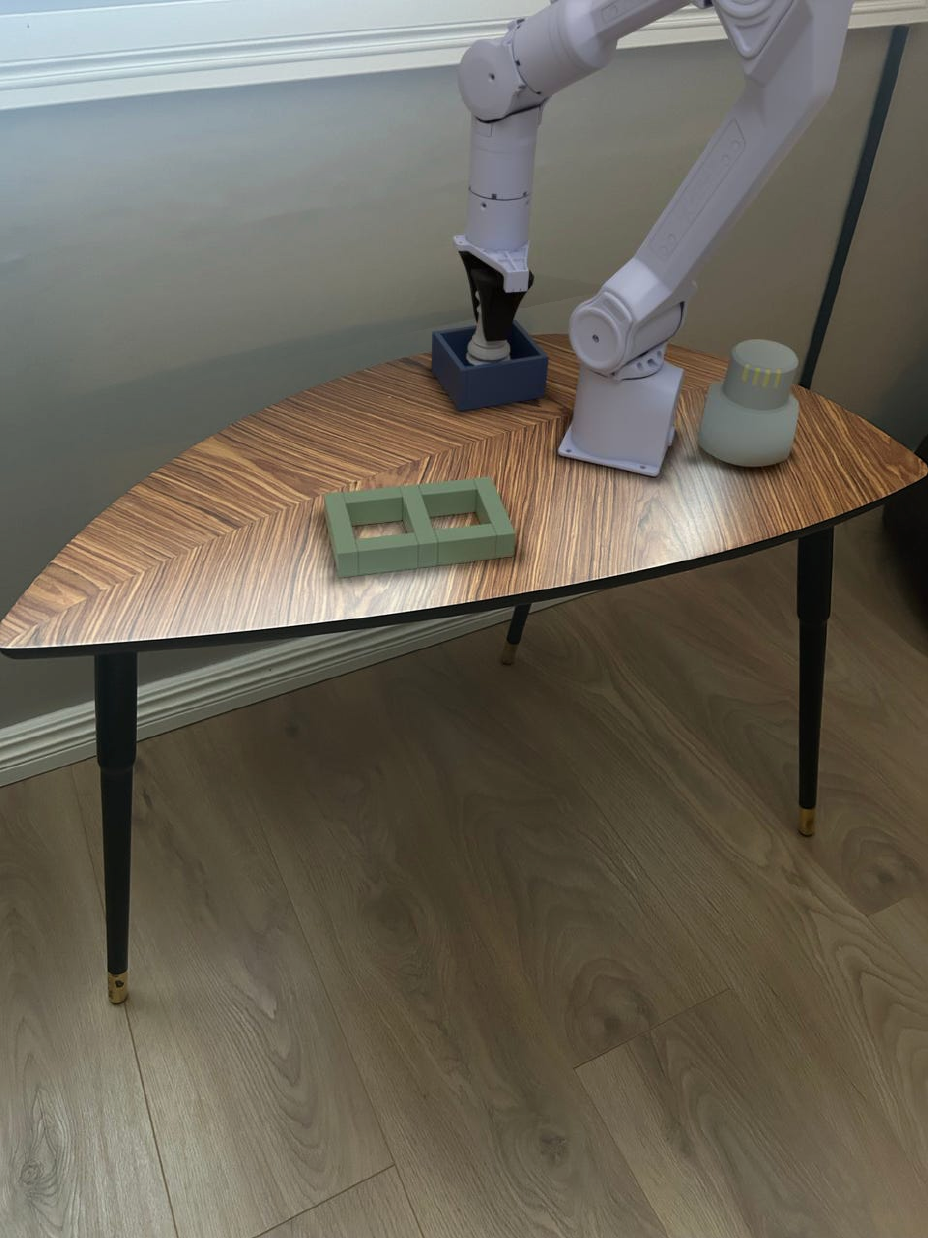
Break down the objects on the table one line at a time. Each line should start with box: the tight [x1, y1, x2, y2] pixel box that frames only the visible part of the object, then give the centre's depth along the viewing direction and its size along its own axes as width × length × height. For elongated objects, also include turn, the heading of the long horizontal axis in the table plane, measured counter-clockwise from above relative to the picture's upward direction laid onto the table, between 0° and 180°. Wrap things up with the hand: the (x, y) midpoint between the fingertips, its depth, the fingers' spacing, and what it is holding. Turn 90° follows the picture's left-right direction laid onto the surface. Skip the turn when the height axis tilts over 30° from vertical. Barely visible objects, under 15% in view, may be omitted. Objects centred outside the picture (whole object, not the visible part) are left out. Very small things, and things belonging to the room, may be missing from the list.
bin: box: [431, 319, 550, 412], centre depth 101 cm, size 9×8×4 cm
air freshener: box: [696, 338, 800, 468], centre depth 92 cm, size 11×8×10 cm
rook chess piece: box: [466, 291, 510, 366], centre depth 98 cm, size 4×4×8 cm
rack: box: [323, 476, 516, 579], centre depth 83 cm, size 14×8×2 cm, turn 104°
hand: (490, 330), depth 99 cm, fingers closed on rook chess piece, 3 cm apart
